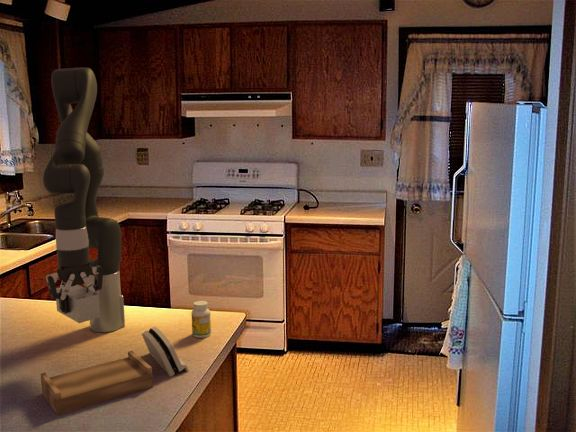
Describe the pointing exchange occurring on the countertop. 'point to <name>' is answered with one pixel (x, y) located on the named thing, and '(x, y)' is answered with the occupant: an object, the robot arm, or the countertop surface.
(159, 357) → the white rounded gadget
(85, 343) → the countertop surface
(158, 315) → the countertop surface
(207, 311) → the supplement bottle
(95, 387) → the stand
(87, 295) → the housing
